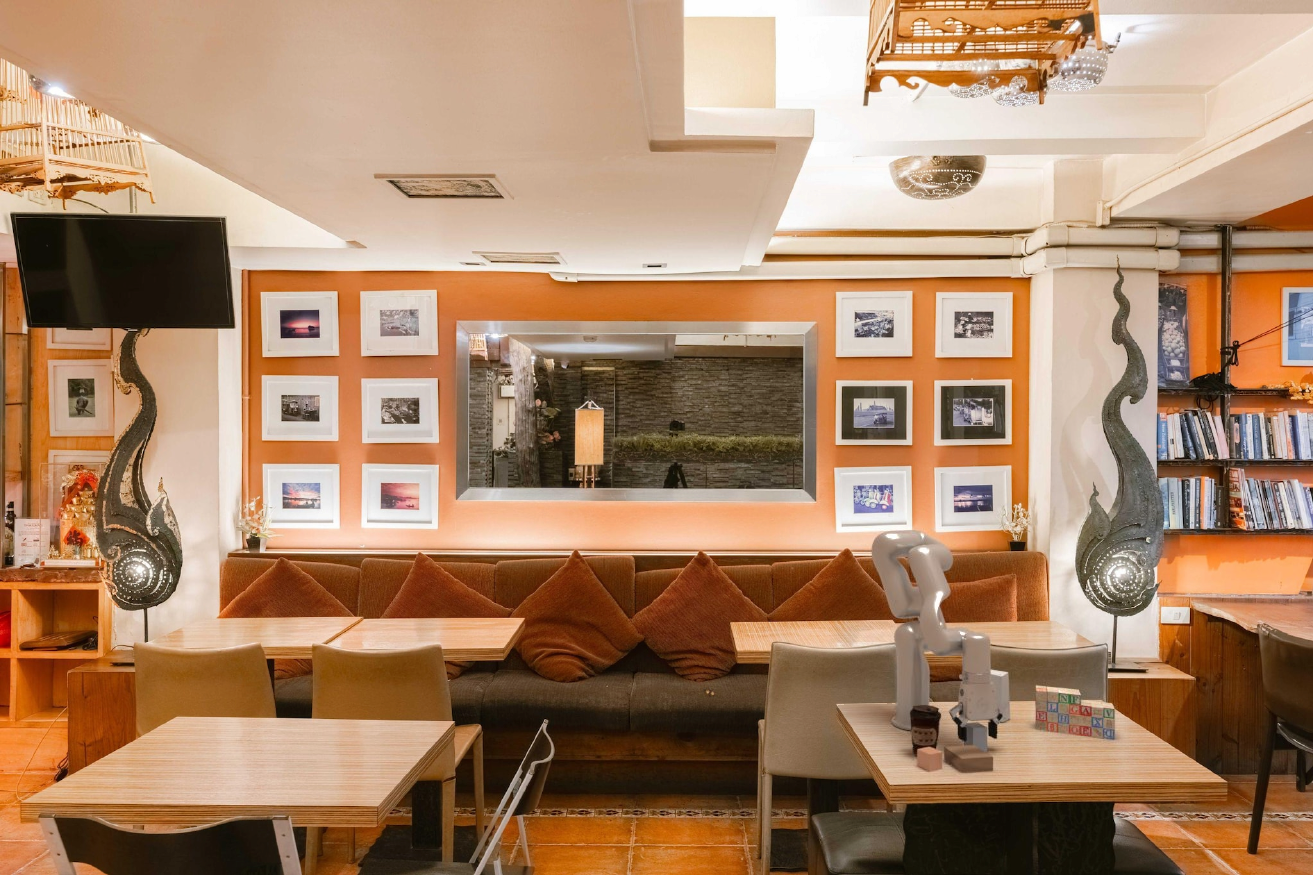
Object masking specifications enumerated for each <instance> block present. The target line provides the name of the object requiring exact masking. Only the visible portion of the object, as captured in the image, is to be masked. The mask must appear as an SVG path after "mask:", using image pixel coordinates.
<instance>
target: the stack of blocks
mask: <svg viewBox="0 0 1313 875" xmlns="http://www.w3.org/2000/svg"><path fill="white" fill-rule="evenodd" d="M1034 697H1035V698H1034V700H1035V701H1034V702H1035V703H1034V706H1035V729H1037V730H1036V731H1042V730H1043V732H1049V731H1050V732H1051V733H1057V734H1058V733H1059V734H1066V735H1075V736H1081V737H1082V736H1084V737H1090V738H1091V737H1092V738H1098V739H1104V738H1106V740H1116V739H1115V733H1116V728H1115V727H1116V720H1115V719H1116V718H1115V717H1116V716H1115V710H1116V709H1115V706H1114V705H1113V703H1112V702H1103V701H1094V700H1088V699H1087V700H1085V699H1082V694H1081V692H1080V690H1079V689H1076V688H1075V689H1073V688H1065V687H1053V686H1045V685H1035V696H1034Z"/></svg>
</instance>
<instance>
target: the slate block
mask: <svg viewBox="0 0 1313 875" xmlns="http://www.w3.org/2000/svg"><path fill="white" fill-rule="evenodd" d="M965 727H966V728H967V741H965V742H964V741H963V742H962V743H963V744H962V746H967V745H975V746H977V747H978V748H980V749H981V750H983V751H985V752H986V753H988V726H986V725H984V724H981V722H977V721H976V722H967V723H966V725H965Z"/></svg>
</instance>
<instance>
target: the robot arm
mask: <svg viewBox="0 0 1313 875" xmlns="http://www.w3.org/2000/svg"><path fill="white" fill-rule="evenodd" d="M870 550H871V551H870V552H871V559H872V562H873V564H874V567H875V569H876V572H877V573H878V575H879V578H880V581H881V584H882V587H883V591H884V594H885V597H886V600H887V603H888V607H889V609H890V611H891V614H892V615H893V616H894V617H895V618H898V619H913V618H914V619H915V618H917V620H915V621H907V622H904V623H901V624H900V625H899V626H897V627H896V629H895V631H894V635H893V638H894V645H895V651H896V660H897V661H896V662H897V665H896V667H897V669H896V670H897V672H896V676H897V677H896V679H897V681H896V682H897V683H896V684H897V685H896V686H897V687H896V688H897V690H896V705H895V706H893V710H894V711H896V716H895V715H894V716H893V717H892V718H891V724H892V725H893V726H895V727H896V728H899V729H902V730H906V731H911V718H910V711H911V710H912V709H913V706H918V705H929V706H930V666H929V665H930V664H929V662H928V660H927V658H926V656H925V653H929V652H931V653H933V654H934V655H935V656H936V657H941V658H943V657H950V656H959V655H962V656H961V657H962V658H961V659H962V660H961V662H962V671H961V672H962V673H961V674H960V673H959V679H960V680H962V681H960V685H959V690H958V702H957V703H958V704H956V705H955V706H953V707H952V708H950V709H949V710H948V713H949V716H950V718H951V720H952V721H953V722H954V723H955V725H957V726H956V727H957V738H958V739H959V740H960V741H963V743H964V742H965V741H967V728H966V727H965V725H966V723H969V721H970V722H972V721H973V722H974V721H976V722H977V721H986V720H987V721H988V720H989V721H988V723H987V737H990V738H992V739H994V740H995V739H996V740H997V739H998V725H999V724H1000V722H999V721H1000V720H1001V718H1002V717H1003V713H1004V711H1005V707H1003V706H1001V705H999V704H997V697H996V691H995V687H994V683H993V682H991V670H992V668H991V667H992V666H991V638H990V635H988V634H986V633H982V632H974V631H973V630H970V629H968V628H965V627H955V628H953V627H951V628H948V627H947V624H946V620H945V618H944V615H943V611H942V609H941V606H940V605H941V603H942V602H943V601H944V600H946V599H947V598H948V597H949V596H950V595H951V593H952V592H951V588H950V586H949V583H948V580H947V578H946V575H945V573H944V572H946V571H949V570H950V569H951V568H952V567H953V563H954V557H953V554H952V551H951V550H950V549H949V548H948V546H946V545H945V544H944V543H942V542H941V541H939V540H938V539H936V538H934V537H932V536H930V535H928V534H926V533H925V532H922V531H920V530H915V529H910V530H890V531H885V532H882V533H879V534H878V535H877V536H876V537H875V538H874V539H873V541H872V544H871V549H870ZM898 558H907V560H908V564H909V567H910V569H911V573H912V575H913V577H914V580H915V582H916V586H913V585H912V582H911V580H910V577H909V573H908V571H907V569H906V568H905V567H904V566H903V564H902V563H901V562H900V561H899V560H898ZM957 713H958V716H957Z"/></svg>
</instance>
